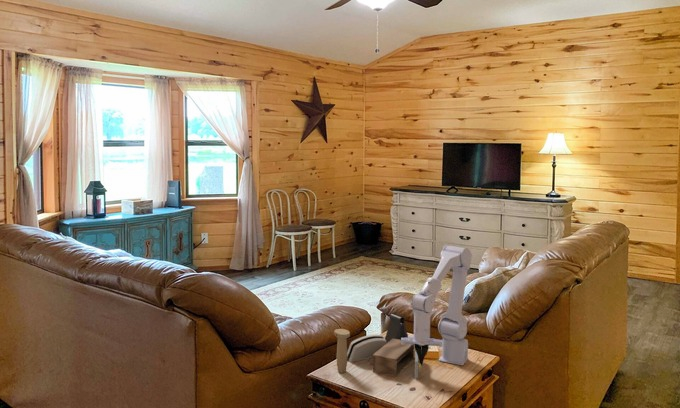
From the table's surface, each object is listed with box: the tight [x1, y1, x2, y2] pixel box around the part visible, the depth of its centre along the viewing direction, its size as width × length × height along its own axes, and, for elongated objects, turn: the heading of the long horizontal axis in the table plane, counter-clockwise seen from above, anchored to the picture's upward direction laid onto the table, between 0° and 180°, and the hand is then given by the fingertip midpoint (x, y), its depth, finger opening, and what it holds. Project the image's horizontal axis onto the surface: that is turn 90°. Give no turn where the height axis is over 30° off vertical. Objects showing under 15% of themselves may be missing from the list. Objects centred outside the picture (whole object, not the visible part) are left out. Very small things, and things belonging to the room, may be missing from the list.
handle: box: [333, 328, 351, 374], centre depth 203 cm, size 5×6×15 cm
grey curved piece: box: [347, 334, 387, 363], centre depth 217 cm, size 17×5×10 cm, turn 123°
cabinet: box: [372, 339, 415, 378], centre depth 210 cm, size 9×19×6 cm, turn 152°
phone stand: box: [384, 313, 409, 344], centre depth 232 cm, size 9×6×12 cm, turn 126°
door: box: [414, 350, 422, 379], centre depth 206 cm, size 2×18×6 cm, turn 172°
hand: (421, 364), depth 202 cm, fingers closed
